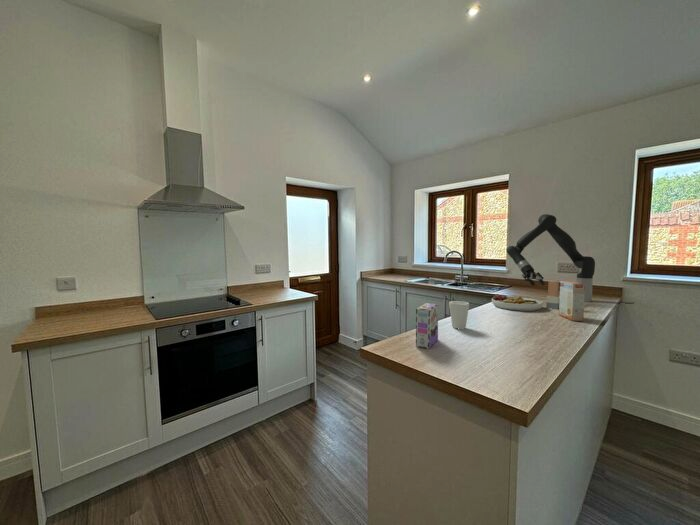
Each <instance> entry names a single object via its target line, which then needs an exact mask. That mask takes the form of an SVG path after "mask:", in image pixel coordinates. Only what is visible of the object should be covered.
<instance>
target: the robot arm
mask: <svg viewBox="0 0 700 525" xmlns="http://www.w3.org/2000/svg"><path fill="white" fill-rule="evenodd" d="M537 221H538V225H537V226H536V227H534V228H533V229H532V230H530V231H529V232H527V233H525V234H523V235H522V237H520V238H519V239H517V241H516V245H510V246H508V247H507V248H506V253H507V254H508V256H509V257H510V258H511V259H512V260H513V262H514V263H515V264H516V265H517V267H518V269H519V270H520V271H521V273H522V274H521V277H522V278H523V279H524V281H526V282H528V283H530V285H531V286H532V287H535V286H536V283H535V281H538V282H539V284H541V286H545V285H546V282H544V279H545V278H544V276H543V275H542V274H541V273H540V272H535V269H534V267H533V266H532V265H531V264H530V262H529V261H528V260H527V259H526V258H525V257H524V256H523V255H522V252H523V251H524V249H525V248H526V247H528V245H529V244H531V243H532V242H533V241H534V240H535V239H536V238H538V237H539V236H541V235H542V234H543V233H544V232H547V233H549V235H550V236H551V237H552V239H553V241H555V242H556V243H557V245H558V246H559V247H560V248H561V249H562V251H564V253H565V254H566V255H567V256H568V257H569V258H570V260H571V262H572V263H573V264H574V266H575V267H576V268H579V269H581V270H580V272H579V273H577V274H576V282H578V283H582V284H585V290H584V303H590V302H593V279H594V278H593V277H594V275H595V269H596V261H595V258H593V257H592V256H584V255H583V254H581V253H580V252H579V251H578V249H577V244H576V241H575V240H574V239H573V237H571V235H570V234H569V233H568V232H566V231H564V229H562V228H561V227H559V226H558V225H557V217H556V216H555V215H553V214H549V213H548V214H541V215H540V216H539V217H538V220H537ZM534 280H535V281H534Z"/></svg>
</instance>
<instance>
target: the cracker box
mask: <svg viewBox="0 0 700 525" xmlns="http://www.w3.org/2000/svg"><path fill="white" fill-rule="evenodd" d="M584 290H585V284H582V283H578V282H577V281H572V280H560V281H559V296H560V304H559V309H558V310H559V311H558V315H559V316H560V317H563V318H565V319H567V320H570V321H572V322H584V312H585V310H584V307H585V302H584Z"/></svg>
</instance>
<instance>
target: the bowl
mask: <svg viewBox="0 0 700 525" xmlns="http://www.w3.org/2000/svg"><path fill="white" fill-rule="evenodd" d="M491 302H492V303H491V304H493V306H495V307H496V306H497V307H496V308H499V309H502V308H503V309H502V310H507V309H509V310H508V311H515V310H517V312H534V311H538V310H540V309H541V308H542V307H543V305H544V302H543V301H542V300H539V299H536V298H535V299H534V298H529V297H521V295H519V296H506V295H505V294H500V293H499V294H498V293H496V294H494V295H493V297H492V298H491Z"/></svg>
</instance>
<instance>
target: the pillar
mask: <svg viewBox="0 0 700 525" xmlns="http://www.w3.org/2000/svg"><path fill="white" fill-rule="evenodd" d="M547 285H548V287H547V289H548V290H547V291H548V292H547V296H551V297H558V296H559V290H560V281H559V280H549V281H548V284H547Z"/></svg>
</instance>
